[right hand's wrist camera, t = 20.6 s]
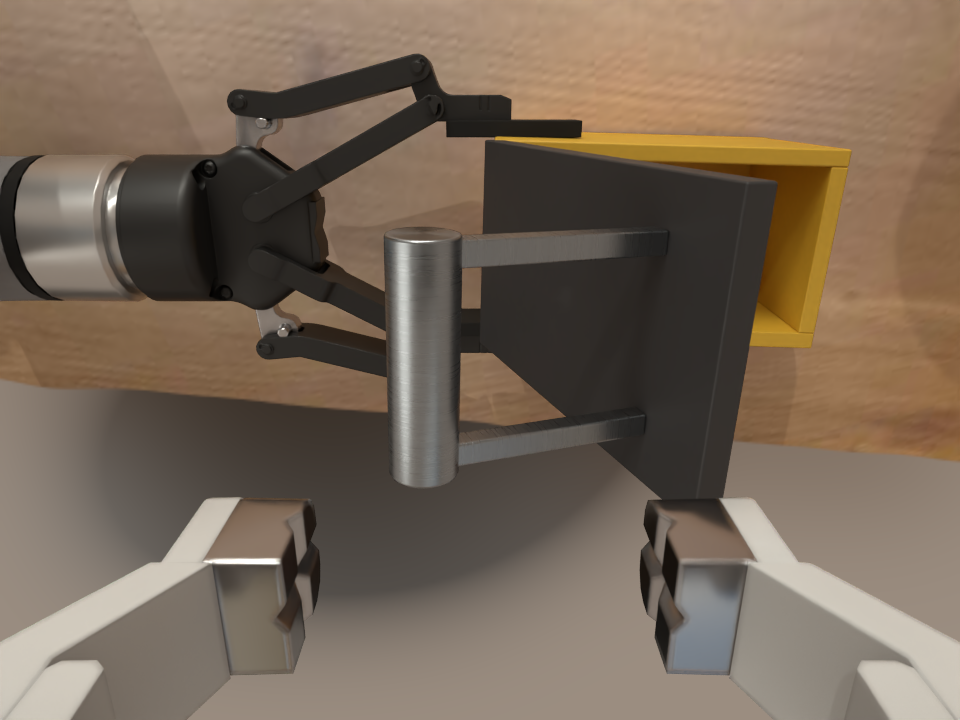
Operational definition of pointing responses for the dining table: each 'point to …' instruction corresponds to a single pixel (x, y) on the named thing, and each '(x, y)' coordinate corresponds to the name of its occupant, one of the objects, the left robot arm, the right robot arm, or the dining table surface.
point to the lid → (584, 315)
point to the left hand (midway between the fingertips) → (573, 229)
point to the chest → (795, 220)
